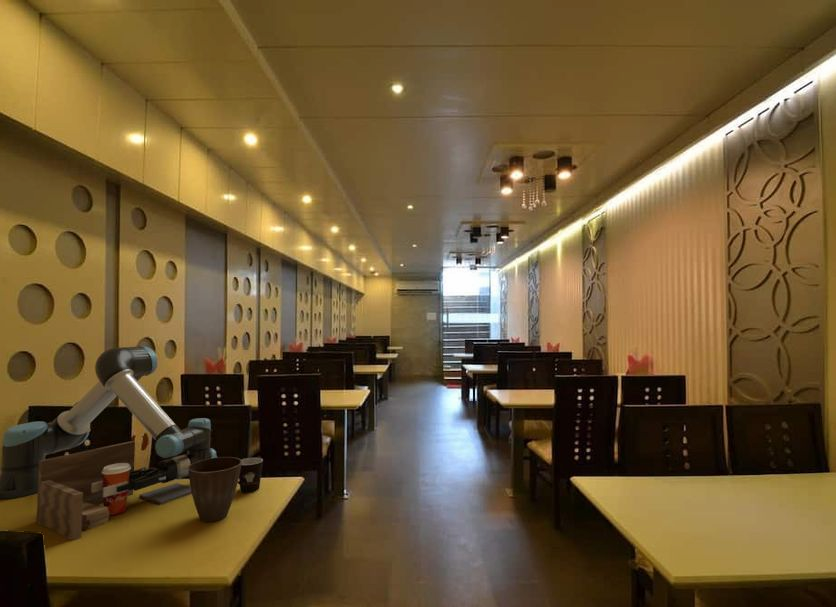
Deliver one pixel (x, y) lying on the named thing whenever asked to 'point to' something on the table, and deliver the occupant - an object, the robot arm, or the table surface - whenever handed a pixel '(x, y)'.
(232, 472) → the plant pot
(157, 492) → the rubber mat
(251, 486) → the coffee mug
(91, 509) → the offcut stack
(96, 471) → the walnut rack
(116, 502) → the paper cup
